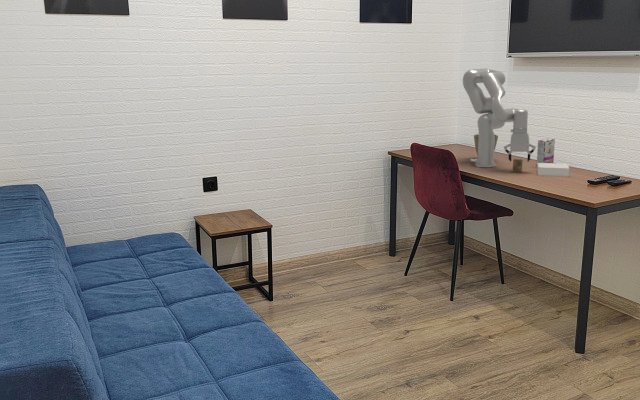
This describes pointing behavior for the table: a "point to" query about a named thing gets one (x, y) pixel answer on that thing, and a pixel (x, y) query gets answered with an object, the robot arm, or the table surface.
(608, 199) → the table surface
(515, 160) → the walnut block
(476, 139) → the plant pot
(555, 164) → the riser block
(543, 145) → the candy bar box
